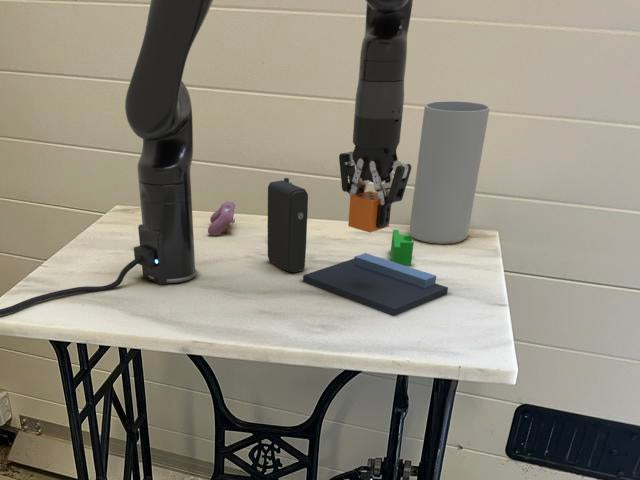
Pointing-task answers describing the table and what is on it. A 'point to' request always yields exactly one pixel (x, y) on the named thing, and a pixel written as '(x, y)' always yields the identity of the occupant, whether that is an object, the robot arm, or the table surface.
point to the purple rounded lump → (222, 218)
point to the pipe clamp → (401, 248)
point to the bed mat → (378, 283)
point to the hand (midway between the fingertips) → (369, 222)
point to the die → (364, 211)
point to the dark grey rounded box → (287, 225)
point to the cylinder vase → (447, 170)
